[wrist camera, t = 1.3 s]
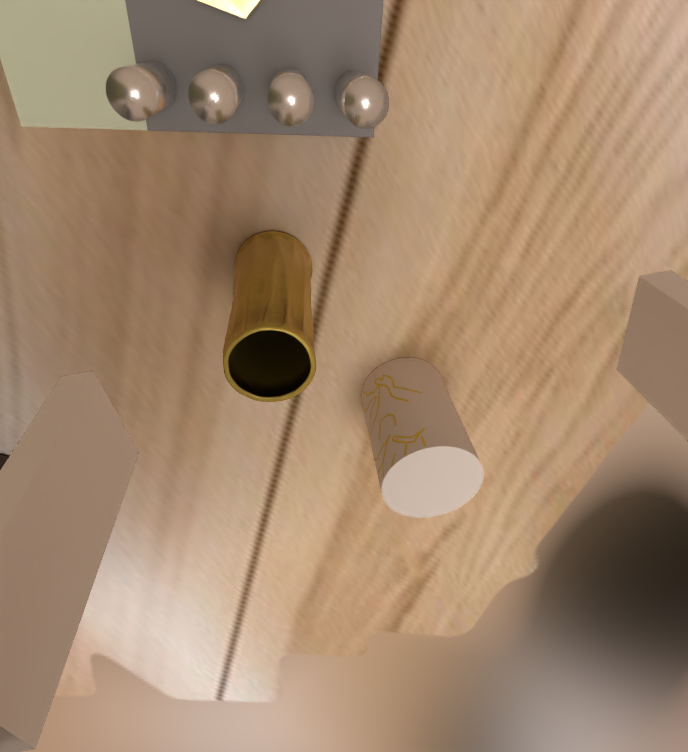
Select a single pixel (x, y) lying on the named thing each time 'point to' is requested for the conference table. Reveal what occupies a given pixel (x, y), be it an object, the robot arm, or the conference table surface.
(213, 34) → the plate
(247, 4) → the nut
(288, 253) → the vase
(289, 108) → the set of metal pegs
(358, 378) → the conference table surface
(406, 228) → the conference table surface
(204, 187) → the conference table surface
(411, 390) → the cup
